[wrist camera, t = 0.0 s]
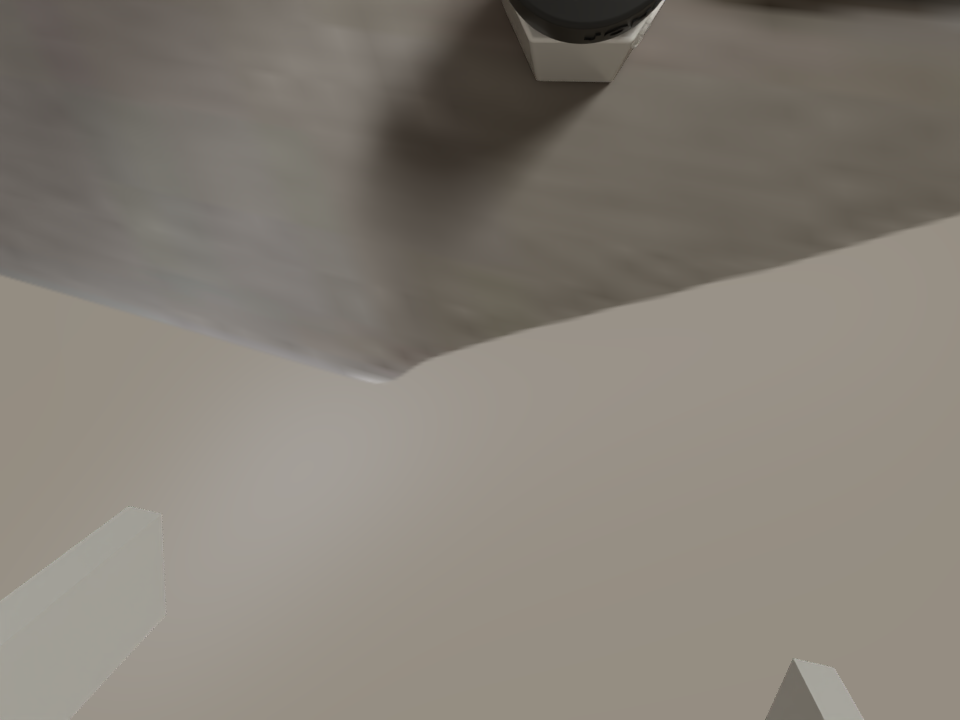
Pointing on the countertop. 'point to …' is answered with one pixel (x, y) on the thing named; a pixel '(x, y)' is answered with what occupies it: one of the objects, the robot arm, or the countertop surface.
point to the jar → (579, 35)
